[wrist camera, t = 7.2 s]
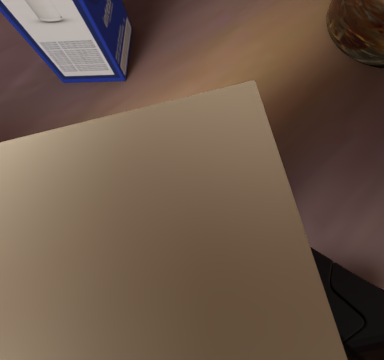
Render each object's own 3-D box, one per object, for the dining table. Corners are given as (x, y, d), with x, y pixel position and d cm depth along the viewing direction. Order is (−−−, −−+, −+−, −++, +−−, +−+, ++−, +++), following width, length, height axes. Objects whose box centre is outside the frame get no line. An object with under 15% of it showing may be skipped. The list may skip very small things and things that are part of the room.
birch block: (254, 313, 14) (433, 619, 2) (162, 332, 15) (-168, 709, 2) (230, 221, 16) (254, 80, 4) (148, 239, 16) (-96, 165, 4)
